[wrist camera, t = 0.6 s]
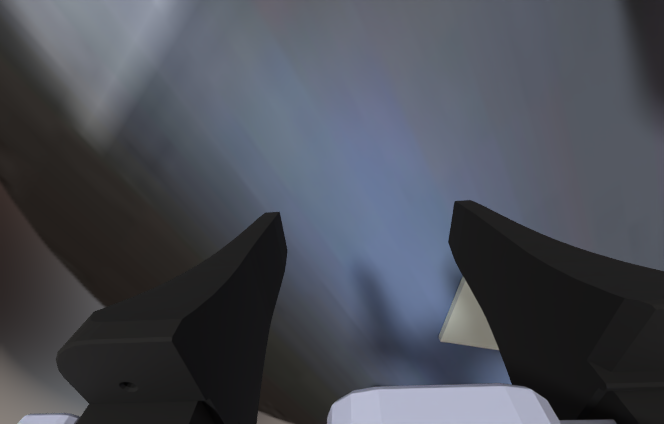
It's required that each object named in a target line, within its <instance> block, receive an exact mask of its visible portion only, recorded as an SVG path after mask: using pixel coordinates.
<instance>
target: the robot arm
mask: <svg viewBox="0 0 664 424" xmlns="http://www.w3.org/2000/svg"><path fill="white" fill-rule="evenodd" d="M448 243H449V245H450V248H451V251H452V254H453V256H454V259H455V262H456V264H457V266H458V267H459V269H460V271H461V273H462V275H463V277H464V278H465V280H466V282H467V284H468V286H469V287H470V289H471V291H472V293H473V295H474V296H475V298H476V300H477V302H478V304H479V305H480V307H481V309H482V311H483V313H484V315H485V317H486V319H487V322H488V324H489V326H490V329H491V331H492V333H493V336H494V338H495V341H496V343H497V346H498V348H499V351H500V353H501V356H502V358H503V361H504V364H505V366H506V369H507V372H508V374H509V377H510V380H511V383H512V385H509V384H501V383H494V384H456V385H418V386H379V387H372V388H366V389H360V390H355V391H352V392H350V393H349V394H347V395H345V396H344V397H342V398H340V399H338V400H337V401H336V402H335V403H334V404H333V405H332V407H331V409H330V412H329V415H328V418H327V424H664V271H660V270H656V269H651V268H647V267H643V266H639V265H634V264H631V263H627V262H623V261H619V260H616V259H612V258H609V257H605V256H602V255H599V254H595V253H592V252H589V251H586V250H583V249H580V248H577V247H574V246H571V245H569V244H566V243H563V242H560V241H558V240H555V239H552V238H550V237H547V236H545V235H543V234H540V233H538V232H536V231H534V230H531V229H529V228H527V227H525V226H523V225H521V224H518V223H516V222H514V221H512V220H510V219H508V218H506V217H504V216H502V215H500V214H498V213H496V212H494V211H492V210H490V209H488V208H486V207H484V206H482V205H480V204H478V203H476V202H473V201H471V200H466V201H455V203H454V209H453V215H452V222H451V228H450V235H449V241H448ZM286 258H287V246H286V241H285V236H284V231H283V226H282V221H281V216H280V212H271V213H264V214H263V215H262V216H261V217H259V218H258V219H257V220H256V221H255V222H254V223H253V224H251V225H250V226H249V227H248V228H247V229H246V230H244V231H243V232H242V233H241V234H240V235H239V236H237V237H236V238H235V239H234V240H232V241H231V242H230V243H229V244H227V245H226V246H225V247H223V248H222V249H221V250H220V251H218V252H217V253H215V254H214V255H212V256H211V257H210V258H208V259H206V260H205V261H203V262H202V263H200V264H199V265H197V266H195V267H194V268H192V269H190V270H188V271H186V272H185V273H183V274H181V275H179V276H177V277H175V278H174V279H172V280H170V281H168V282H166V283H164V284H162V285H159V286H157V287H155V288H153V289H151V290H149V291H146V292H144V293H142V294H139V295H137V296H135V297H132V298H130V299H127V300H124V301H122V302H119V303H116V304H114V305H111V306H108V307H106V308H103V309H100V310H97V311H95V312H93V314H92V315H91V316H90V317H89V318H88V319H87V320H86V321H85V322H84V323H83V325H82V326H81V327H80V328H79V329H78V330H77V331H76V332H75V333H74V335H73V336H72V337H71V338H70V339H69V340H68V341H67V342H66V343H65V345H64V346H63V347H62V348H61V349H60V350H59V351H58V353H57V357H56V362H57V366H58V369H59V371H60V373H61V374H62V375H63V377H64V378H65V379H66V380H67V381H68V382H69V383H70V384H71V385H72V386H73V387H74V388H75V389H76V390H77V391H78V393H80V395H81V396H82V397H83V398H84V399H85V400H86V401H87V402H88V403H89V405H88V407H87V408H86V410H85V411H84V413H83V414H82V416H81V417H79V416H76V415H73V414H68V413H50V414H49V413H48V414H47V413H46V414H28V415H25V416H24V417H23V418H22V419H21V421H20V422H19V423H18V424H256V423H257V414H258V405H259V397H260V389H261V381H262V373H263V366H264V360H265V353H266V346H267V340H268V334H269V328H270V324H271V319H272V315H273V312H274V308H275V305H276V301H277V297H278V294H279V290H280V287H281V283H282V279H283V276H284V272H285V266H286Z"/></svg>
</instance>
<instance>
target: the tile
mask: <svg viewBox="0 0 664 424" xmlns="http://www.w3.org/2000/svg"><path fill="white" fill-rule="evenodd" d="M439 339H440V342H447V343H454V344H460V345H467V346H474V347H481V348H487V349H494V350H499V348H498V346H497V343H496V341H495V338H494V336H493V333H492V331H491V329H490V326H489V324H488V322H487V319H486V317H485V315H484V313H483V311H482V309H481V307H480V305H479V304H478V302H477V300H476V298H475V296H474V295H473V293H472V291H471V289H470V287H469V286H468V284H467V282H466V280H465V278H464V277H462V280H461V282H460V285H459V287H458V290H457V292H456V294H455V297H454V299H453V302H452V304H451V307H450V309H449V312H448V314H447V317H446V319H445V322H444V324H443V327H442V329H441V332H440V334H439Z"/></svg>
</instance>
